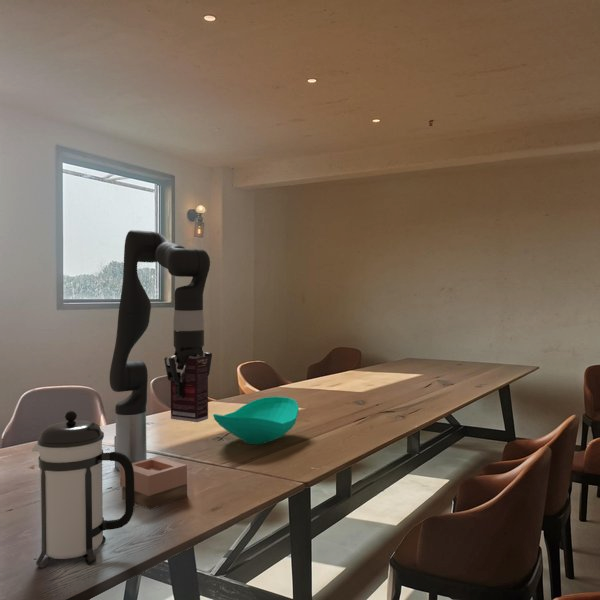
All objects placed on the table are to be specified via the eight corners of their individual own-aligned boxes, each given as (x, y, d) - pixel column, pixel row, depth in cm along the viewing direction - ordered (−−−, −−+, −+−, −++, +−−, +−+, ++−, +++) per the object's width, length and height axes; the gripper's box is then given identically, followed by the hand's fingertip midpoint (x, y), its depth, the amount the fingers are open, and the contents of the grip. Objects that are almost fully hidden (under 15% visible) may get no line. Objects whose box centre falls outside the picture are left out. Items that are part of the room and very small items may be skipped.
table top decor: (253, 426, 230) (252, 394, 230) (314, 433, 218) (314, 399, 218) (194, 451, 194) (193, 413, 194) (263, 461, 182) (263, 420, 182)
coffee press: (55, 582, 106) (54, 423, 106) (20, 556, 117) (18, 412, 116) (137, 550, 119) (135, 408, 119) (98, 529, 129) (97, 399, 129)
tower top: (120, 485, 149) (119, 466, 149) (157, 474, 158) (157, 456, 158) (148, 495, 141) (148, 476, 141) (187, 483, 150) (186, 464, 150)
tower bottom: (122, 500, 149) (122, 485, 149) (159, 488, 159) (159, 474, 159) (150, 511, 142) (150, 495, 142) (187, 497, 151) (187, 482, 151)
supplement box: (209, 419, 141) (208, 356, 141) (197, 423, 137) (196, 358, 137) (182, 415, 145) (181, 354, 145) (169, 419, 141) (169, 356, 141)
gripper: (200, 326, 149) (200, 390, 149) (156, 329, 137) (156, 398, 138) (220, 327, 144) (220, 393, 145) (176, 330, 133) (176, 402, 133)
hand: (189, 395), depth 141 cm, fingers closed on supplement box, 5 cm apart
